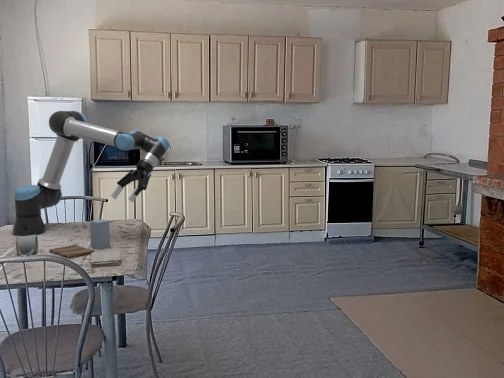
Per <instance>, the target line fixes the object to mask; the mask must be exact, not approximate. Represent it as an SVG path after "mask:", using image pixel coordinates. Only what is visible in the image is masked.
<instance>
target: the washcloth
mask: <svg viewBox="0 0 504 378" xmlns="http://www.w3.org/2000/svg"><path fill="white" fill-rule="evenodd" d="M121 259H122V258H121V253H120V250H119V249H117V250H109V251H94V252H93V253H91V254H90V261H89V262H90V264H89V265H90V268H105V267H117V266H120V265H121V261H122V260H121Z"/></svg>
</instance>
